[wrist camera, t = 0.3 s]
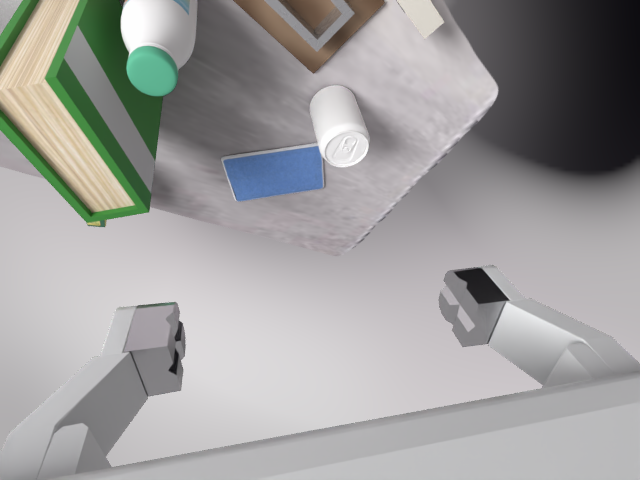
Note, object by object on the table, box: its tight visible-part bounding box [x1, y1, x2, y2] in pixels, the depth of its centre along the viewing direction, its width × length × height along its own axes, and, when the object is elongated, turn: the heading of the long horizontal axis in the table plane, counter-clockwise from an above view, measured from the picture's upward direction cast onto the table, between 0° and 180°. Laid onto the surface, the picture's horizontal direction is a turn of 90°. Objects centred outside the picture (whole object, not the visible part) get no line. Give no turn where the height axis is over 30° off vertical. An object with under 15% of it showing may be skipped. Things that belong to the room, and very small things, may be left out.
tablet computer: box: [221, 143, 324, 202], centre depth 77 cm, size 19×13×1 cm, turn 93°
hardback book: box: [0, 0, 163, 223], centre depth 45 cm, size 18×7×24 cm, turn 4°
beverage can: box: [310, 85, 370, 167], centre depth 63 cm, size 8×8×12 cm
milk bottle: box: [121, 0, 198, 96], centre depth 43 cm, size 8×8×20 cm
